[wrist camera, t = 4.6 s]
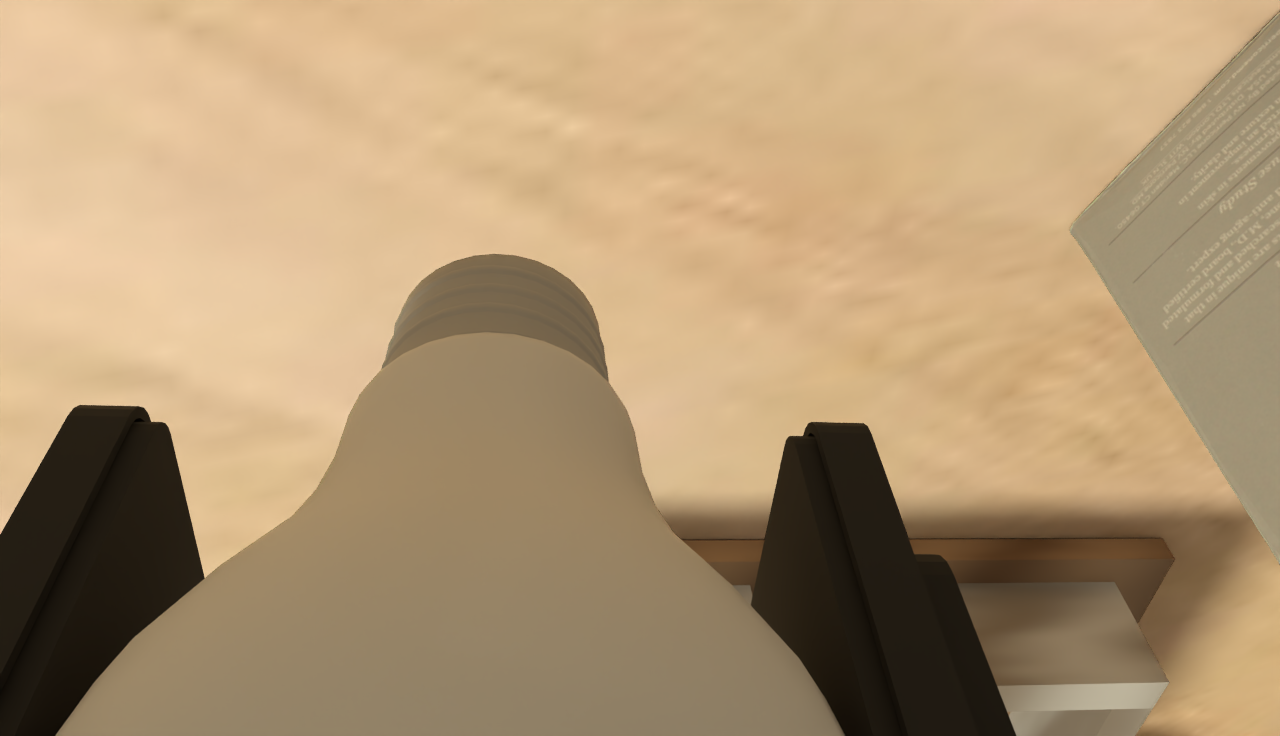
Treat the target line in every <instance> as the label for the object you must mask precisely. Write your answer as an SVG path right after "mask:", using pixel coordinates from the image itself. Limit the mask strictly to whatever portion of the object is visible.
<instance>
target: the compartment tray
mask: <svg viewBox="0 0 1280 736" xmlns="http://www.w3.org/2000/svg"><path fill="white" fill-rule="evenodd" d="M682 541H683V542H684V543H686V544H687V545H688V546H689V547H690V548H691V549H692V550H693V551H695V552H696V553H697V554H698V555H699V556H700V557H701V558H702V559H704V560H705V561H706V562H707V563H708V564H709V565H710V566H711V567H712V568H714V569H715V570H716V571H717V572H718V573H719V574H720V575H721V576H722V577H724V578H725V579H726V580H727V581H728V582H729V583H730V584H731V585H732V586H733V587H734V588H735V589H736V590H737V591H738V592H739V593H740V594H741V595H742V597H743V598H744V599H745V600H746V601H747V602H748V603H749V604H750V605H751V601H752V596H753V591H754V587H755V582H756V577H757V573H758V568H759V563H760V559H761V554H762V549H763V545H764V540H682ZM909 541H910V544H911V546H912V549H913V552H914V554H936V555H940V556H942V557H943V558H944V559H945V560H946V561H947V562H948V564H949V566H950V568H951V570H952V572H953V574H954V576H955V579H956V581H957V584H958V587H959V589H960V592H961V594H962V597H963V599H964V602H965V605H966V607H967V610H968V612H969V615H970V617H971V620H972V623H973V625H974V628H975V630H976V633H977V635H978V638H979V641H980V643H981V646H982V648H983V651H984V653H985V656H986V659H987V661H988V664H989V666H990V669H991V671H992V674H993V677H994V679H995V682H996V684H997V687H998V689H999V692H1000V695H1001V697H1002V700H1003V702H1004V705H1005V707H1006V710H1007V713H1008V715H1009V718H1010V720H1011V723H1012V725H1013V728H1014V731H1015V733H1016V736H1135V735H1136V734H1137V732H1138V731H1139V729H1140V728H1141V726H1142V724H1143V723H1144V721H1145V720H1146V718H1147V717H1148V715H1149V713H1150V712H1151V710H1152V709H1153V707H1154V706H1155V704H1156V703H1157V701H1158V699H1159V698H1160V696H1161V695H1162V693H1163V692H1164V690H1165V689H1166V687H1167V685H1168V684H1169V681H1168V679H1167V677H1166V675H1165V673H1164V671H1163V670H1162V668H1161V666H1160V664H1159V662H1158V660H1157V659H1156V657H1155V655H1154V653H1153V651H1152V649H1151V648H1150V646H1149V644H1148V642H1147V640H1146V638H1145V637H1144V635H1143V633H1142V631H1141V629H1140V628H1139V626H1138V622H1139V620H1140V619H1141V617H1142V615H1143V614H1144V612H1145V610H1146V608H1147V607H1148V605H1149V603H1150V601H1151V600H1152V598H1153V596H1154V595H1155V593H1156V591H1157V589H1158V588H1159V586H1160V584H1161V582H1162V581H1163V579H1164V577H1165V576H1166V574H1167V572H1168V570H1169V569H1170V567H1171V565H1172V563H1173V562H1174V560H1175V558H1174V556H1173V555H1172V553H1171V551H1170V550H1169V548H1168V547H1167V545H1166V543H1165V542H1164V540H1163V539H911V540H909Z"/></svg>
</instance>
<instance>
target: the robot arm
mask: <svg viewBox="0 0 1280 736" xmlns="http://www.w3.org/2000/svg"><path fill="white" fill-rule="evenodd" d="M203 579H205V578H204V574H203V569H202V565H201V561H200V557H199V553H198V548H197V544H196V540H195V536H194V531H193V527H192V523H191V519H190V514H189V510H188V506H187V502H186V497H185V493H184V489H183V485H182V480H181V476H180V472H179V468H178V463H177V459H176V455H175V451H174V446H173V442H172V438H171V434H170V431H169V428H168V426H167V425H166V424H165V423H163V422H151V420H150V417H149V415H148V413H147V411H146V410H145V409H144V408H142V407H139V406H96V405H79V406H77V407H75V408H73V410H72V411H71V412H70V414H69V415H68V416H67V418H66V420H65V422H64V423H63V425H62V427H61V429H60V431H59V432H58V434H57V436H56V438H55V439H54V441H53V443H52V445H51V446H50V448H49V450H48V452H47V453H46V455H45V457H44V459H43V460H42V462H41V464H40V466H39V468H38V469H37V471H36V473H35V475H34V476H33V478H32V480H31V482H30V483H29V485H28V487H27V489H26V490H25V492H24V494H23V496H22V497H21V499H20V501H19V503H18V505H17V506H16V508H15V510H14V512H13V513H12V515H11V517H10V519H9V520H8V522H7V524H6V526H5V527H4V529H3V531H2V533H1V534H0V736H55V735H56V734H57V732H58V731H59V730H60V728H61V727H62V726H63V724H64V723H65V722H66V720H67V719H68V717H69V716H70V715H71V713H72V712H73V711H74V709H75V708H76V707H77V705H78V704H79V702H80V701H81V700H82V698H83V697H84V696H85V694H86V693H87V692H88V690H89V689H90V687H91V686H92V685H93V683H94V682H95V681H96V680H97V679H98V677H99V676H100V675H101V674H102V673H103V672H104V671H105V669H106V668H107V667H108V666H109V665H110V664H111V663H112V662H113V660H114V659H115V658H116V657H117V656H118V655H119V654H120V653H121V651H122V650H123V649H124V648H125V647H126V646H127V645H128V644H129V642H130V641H131V640H132V639H133V638H134V637H135V636H136V635H138V634H139V633H140V632H141V631H142V630H144V629H145V628H146V627H147V626H148V625H150V624H151V623H152V622H153V621H154V620H156V619H157V618H158V617H159V616H160V615H162V614H163V613H164V612H165V611H166V610H167V609H169V608H170V607H171V606H172V605H173V604H175V603H176V602H177V601H178V600H179V599H181V598H182V597H183V596H184V595H185V594H187V593H188V592H189V591H190V590H191V589H193V588H194V587H195V586H196V585H197V584H199V583H200V582H201V581H202V580H203ZM751 606H752V607H753V609H754V610H755V611H756V612H757V613H758V614H759V615H760V616H761V617H762V618H763V619H764V621H765V622H766V623H767V624H768V625H769V626H770V627H771V628H772V629H773V630H774V631H775V633H776V634H777V635H778V636H779V637H780V638H781V639H782V640H783V641H784V642H785V643H786V645H787V646H788V647H789V648H790V649H791V650H792V651H793V652H794V653H795V654H796V655H797V657H798V658H799V659H800V660H801V662H802V663H803V665H804V667H805V668H806V670H807V671H808V673H809V674H810V676H811V677H812V679H813V680H814V682H815V683H816V685H817V686H818V688H819V689H820V691H821V693H822V694H823V696H824V697H825V699H826V700H827V702H828V704H829V706H830V708H831V710H832V712H833V713H834V715H835V717H836V719H837V721H838V723H839V725H840V727H841V729H842V731H843V732H844V734H845V736H1016V733H1015V731H1014V728H1013V725H1012V723H1011V720H1010V718H1009V715H1008V713H1007V710H1006V707H1005V705H1004V702H1003V700H1002V697H1001V695H1000V692H999V689H998V687H997V684H996V682H995V679H994V677H993V674H992V671H991V669H990V666H989V664H988V661H987V659H986V656H985V653H984V651H983V648H982V646H981V643H980V641H979V638H978V635H977V633H976V630H975V628H974V625H973V623H972V620H971V617H970V615H969V612H968V610H967V607H966V605H965V602H964V599H963V597H962V594H961V592H960V589H959V587H958V584H957V581H956V579H955V576H954V574H953V572H952V570H951V568H950V566H949V564H948V562H947V561H946V560H945V559H944V558H943V557H942V556H940V555H936V554H914V552H913V549H912V546H911V544H910V541H909V538H908V535H907V532H906V530H905V527H904V524H903V521H902V518H901V516H900V513H899V510H898V507H897V504H896V502H895V499H894V496H893V493H892V490H891V487H890V485H889V482H888V479H887V476H886V473H885V471H884V468H883V465H882V462H881V459H880V457H879V454H878V451H877V448H876V445H875V443H874V440H873V437H872V434H871V432H870V430H869V428H868V426H867V425H865V424H864V423H827V422H811V423H808V425H807V427H806V428H805V432H804V435H803V436H789V437H788V438H787V440H786V443H785V447H784V451H783V456H782V460H781V465H780V470H779V474H778V479H777V484H776V489H775V493H774V498H773V503H772V507H771V512H770V517H769V521H768V526H767V531H766V535H765V540H764V545H763V549H762V554H761V559H760V563H759V568H758V573H757V577H756V582H755V587H754V591H753V596H752V601H751Z"/></svg>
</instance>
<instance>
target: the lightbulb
mask: <svg viewBox="0 0 1280 736" xmlns="http://www.w3.org/2000/svg"><path fill="white" fill-rule="evenodd" d="M55 736H845V734H844V732H843V731H842V729H841V727H840V725H839V723H838V721H837V719H836V717H835V715H834V713H833V712H832V710H831V708H830V706H829V704H828V702H827V700H826V699H825V697H824V696H823V694H822V693H821V691H820V689H819V688H818V686H817V685H816V683H815V682H814V680H813V679H812V677H811V676H810V674H809V673H808V671H807V670H806V668H805V667H804V665H803V663H802V662H801V660H800V659H799V658H798V657H797V655H796V654H795V653H794V652H793V651H792V650H791V649H790V648H789V647H788V646H787V645H786V643H785V642H784V641H783V640H782V639H781V638H780V637H779V636H778V635H777V634H776V633H775V631H774V630H773V629H772V628H771V627H770V626H769V625H768V624H767V623H766V622H765V621H764V619H763V618H762V617H761V616H760V615H759V614H758V613H757V612H756V611H755V610H754V609H753V607H752V606H751V605H750V604H749V603H748V602H747V601H746V600H745V599H744V598H743V597H742V595H741V594H740V593H739V592H738V591H737V590H736V589H735V588H734V587H733V586H732V585H731V584H730V583H729V582H728V581H727V580H726V579H725V578H724V577H722V576H721V575H720V574H719V573H718V572H717V571H716V570H715V569H714V568H712V567H711V566H710V565H709V564H708V563H707V562H706V561H705V560H704V559H702V558H701V557H700V556H699V555H698V554H697V553H696V552H695V551H693V550H692V549H691V548H690V547H689V546H688V545H687V544H686V543H684V542H683V541H682V540H681V539H680V538H679V537H678V536H677V535H675V534H674V533H673V531H672V530H671V528H670V527H669V525H668V524H667V522H666V521H665V519H664V518H663V516H662V515H661V513H660V512H659V510H658V509H657V508H656V506H655V504H654V501H653V498H652V496H651V493H650V491H649V488H648V486H647V483H646V481H645V478H644V476H643V473H642V468H641V463H640V458H639V453H638V447H637V442H636V437H635V432H634V429H633V426H632V423H631V420H630V418H629V415H628V412H627V410H626V408H625V406H624V405H623V403H622V402H621V400H620V399H619V397H618V396H617V394H616V393H615V391H614V390H613V388H612V387H611V385H610V383H609V381H608V371H607V366H606V363H605V354H604V346H603V343H602V340H601V337H600V332H599V326H598V322H597V319H596V316H595V313H594V310H593V308H592V306H591V305H590V303H589V301H588V300H587V298H586V297H585V295H584V294H583V292H582V291H581V290H580V289H579V288H578V287H577V286H576V285H575V284H574V283H573V282H572V281H571V280H570V279H568V278H567V277H565V276H564V275H562V274H561V273H559V272H558V271H557V270H555V269H553V268H551V267H549V266H547V265H544V264H542V263H540V262H538V261H535V260H531V259H527V258H523V257H519V256H514V255H501V254H489V255H478V256H472V257H468V258H464V259H461V260H457V261H454V262H452V263H449V264H447V265H445V266H443V267H441V268H439V269H437V270H435V271H434V272H433V273H431V274H430V275H429V276H427V277H426V278H425V279H423V280H422V281H421V282H420V283H419V284H418V286H417V287H416V288H415V289H414V290H413V291H412V292H411V294H410V295H409V297H408V299H407V301H406V303H405V304H404V306H403V308H402V311H401V314H400V315H399V317H398V319H397V321H396V323H395V329H394V335H393V337H392V339H391V341H390V343H389V346H388V350H387V354H386V358H385V361H384V363H383V365H382V369H381V371H380V372H379V373H378V374H377V375H376V376H375V377H374V378H373V380H372V381H371V382H370V383H369V384H368V385H367V386H366V387H365V389H364V390H363V391H362V392H361V394H360V395H359V397H358V399H357V401H356V403H355V404H354V406H353V408H352V410H351V412H350V414H349V416H348V419H347V422H346V425H345V428H344V431H343V434H342V437H341V440H340V443H339V446H338V449H337V452H336V455H335V457H334V459H333V461H332V463H331V464H330V466H329V468H328V470H327V471H326V473H325V475H324V477H323V478H322V480H321V482H320V484H319V485H318V487H317V489H316V490H315V491H314V493H313V494H312V495H311V496H310V497H309V498H308V499H307V500H306V501H305V502H304V504H303V505H302V506H301V507H300V508H299V509H298V510H297V511H296V512H295V514H294V515H293V516H292V517H290V518H289V519H287V520H286V521H284V522H283V523H281V524H280V525H278V526H277V527H275V528H274V529H273V530H271V531H270V532H268V533H267V534H265V535H264V536H262V537H261V538H259V539H258V540H256V541H255V542H254V543H252V544H251V545H249V546H248V547H246V548H245V549H243V550H242V551H240V552H239V553H238V554H236V555H235V556H233V557H232V558H230V559H229V560H227V561H226V562H224V563H223V564H222V565H220V566H219V567H218V568H217V569H215V570H214V571H213V572H212V573H211V574H209V575H208V576H207V577H206V578H205V579H203V580H202V581H201V582H200V583H199V584H197V585H196V586H195V587H194V588H193V589H191V590H190V591H189V592H188V593H187V594H185V595H184V596H183V597H182V598H181V599H179V600H178V601H177V602H176V603H175V604H173V605H172V606H171V607H170V608H169V609H167V610H166V611H165V612H164V613H163V614H162V615H160V616H159V617H158V618H157V619H156V620H154V621H153V622H152V623H151V624H150V625H148V626H147V627H146V628H145V629H144V630H142V631H141V632H140V633H139V634H138V635H136V636H135V637H134V638H133V639H132V640H131V641H130V642H129V644H128V645H127V646H126V647H125V648H124V649H123V650H122V651H121V653H120V654H119V655H118V656H117V657H116V658H115V659H114V660H113V662H112V663H111V664H110V665H109V666H108V667H107V668H106V669H105V671H104V672H103V673H102V674H101V675H100V676H99V677H98V679H97V680H96V681H95V682H94V683H93V685H92V686H91V687H90V689H89V690H88V692H87V693H86V694H85V696H84V697H83V698H82V700H81V701H80V702H79V704H78V705H77V707H76V708H75V709H74V711H73V712H72V713H71V715H70V716H69V717H68V719H67V720H66V722H65V723H64V724H63V726H62V727H61V728H60V730H59V731H58V732H57V734H56V735H55Z"/></svg>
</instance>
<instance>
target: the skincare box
mask: <svg viewBox="0 0 1280 736" xmlns="http://www.w3.org/2000/svg"><path fill="white" fill-rule="evenodd" d="M1070 233H1071V235H1072V236H1073V237H1074V238H1075V239H1076V241H1077V242H1078V244H1079V245H1080V247H1081V248H1082V250H1083V251H1084V253H1085V254H1086V256H1087V257H1088V259H1089V260H1090V262H1091V263H1092V265H1093V266H1094V268H1095V269H1096V271H1097V273H1098V274H1099V276H1100V277H1101V279H1102V281H1103V282H1104V284H1105V286H1106V287H1107V289H1108V290H1109V292H1110V294H1111V295H1112V297H1113V298H1114V300H1115V302H1116V303H1117V305H1118V306H1119V308H1120V310H1121V311H1122V313H1123V314H1124V316H1125V318H1126V319H1127V321H1128V322H1129V324H1130V326H1131V327H1132V329H1133V330H1134V332H1135V334H1136V335H1137V337H1138V339H1139V340H1140V342H1141V343H1142V345H1143V347H1144V348H1145V350H1146V352H1147V353H1148V355H1149V356H1150V358H1151V360H1152V361H1153V363H1154V364H1155V366H1156V368H1157V369H1158V371H1159V372H1160V374H1161V376H1162V377H1163V379H1164V380H1165V382H1166V384H1167V385H1168V387H1169V388H1170V390H1171V392H1172V393H1173V395H1174V396H1175V398H1176V400H1177V401H1178V403H1179V404H1180V406H1181V408H1182V409H1183V411H1184V412H1185V414H1186V416H1187V417H1188V419H1189V420H1190V422H1191V424H1192V425H1193V427H1194V428H1195V430H1196V432H1197V433H1198V435H1199V436H1200V438H1201V440H1202V441H1203V443H1204V445H1205V446H1206V448H1207V449H1208V451H1209V453H1210V454H1211V456H1212V457H1213V459H1214V461H1215V462H1216V464H1217V465H1218V467H1219V468H1220V470H1221V472H1222V473H1223V475H1224V476H1225V478H1226V480H1227V481H1228V483H1229V484H1230V486H1231V488H1232V489H1233V491H1234V492H1235V494H1236V495H1237V497H1238V499H1239V500H1240V502H1241V503H1242V505H1243V507H1244V508H1245V510H1246V511H1247V513H1248V515H1249V516H1250V518H1251V519H1252V521H1253V522H1254V524H1255V526H1256V527H1257V529H1258V530H1259V532H1260V534H1261V535H1262V537H1263V538H1264V540H1265V541H1266V543H1267V544H1268V546H1269V548H1270V549H1271V551H1272V552H1273V554H1274V556H1275V557H1276V559H1277V561H1278V563H1279V564H1280V12H1279V13H1278V14H1277V15H1276V16H1275V17H1274V18H1273V19H1272V20H1271V21H1270V22H1269V23H1268V24H1267V25H1266V26H1265V27H1264V28H1263V29H1262V31H1261V32H1260V33H1259V34H1258V35H1257V36H1256V37H1255V38H1254V39H1253V40H1252V41H1251V42H1250V43H1249V44H1248V45H1247V46H1246V47H1245V48H1244V49H1243V50H1242V51H1241V52H1240V53H1239V54H1238V55H1237V56H1236V57H1235V58H1234V59H1233V60H1232V62H1231V63H1230V64H1229V65H1228V66H1227V67H1226V68H1225V69H1224V70H1223V71H1222V72H1221V73H1220V74H1219V75H1218V76H1217V77H1216V78H1215V79H1214V80H1213V81H1212V82H1211V83H1210V84H1209V85H1208V86H1207V87H1206V88H1205V89H1204V90H1203V91H1202V92H1201V93H1200V94H1199V95H1198V96H1197V97H1196V98H1195V99H1194V100H1193V101H1192V102H1191V103H1190V104H1189V105H1188V106H1187V107H1186V108H1185V109H1184V110H1183V111H1182V112H1181V113H1180V114H1179V115H1178V116H1177V117H1176V118H1175V119H1174V120H1173V121H1172V122H1171V123H1170V124H1169V125H1168V126H1167V127H1166V128H1165V129H1164V130H1163V131H1162V132H1161V133H1160V134H1159V135H1158V136H1157V137H1156V138H1155V139H1154V140H1153V141H1152V142H1151V143H1150V144H1149V145H1148V146H1147V147H1146V148H1145V149H1144V150H1143V151H1142V152H1141V153H1140V154H1139V155H1138V156H1137V157H1136V158H1135V159H1134V160H1133V161H1132V162H1131V163H1130V164H1129V165H1128V166H1127V167H1126V168H1125V169H1124V170H1123V171H1122V172H1121V173H1120V174H1119V176H1118V177H1117V178H1116V179H1115V180H1114V181H1113V182H1112V183H1111V184H1110V185H1109V186H1108V187H1107V188H1106V189H1105V190H1104V191H1103V192H1102V193H1101V194H1100V195H1099V196H1098V197H1097V198H1096V199H1095V200H1094V201H1093V202H1092V203H1091V204H1090V205H1089V206H1088V207H1087V209H1086V210H1085V211H1084V212H1083V213H1082V214H1081V215H1080V216H1079V217H1078V218H1077V219H1076V220H1075V221H1074V222H1073V224H1072V226H1071V228H1070Z"/></svg>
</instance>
